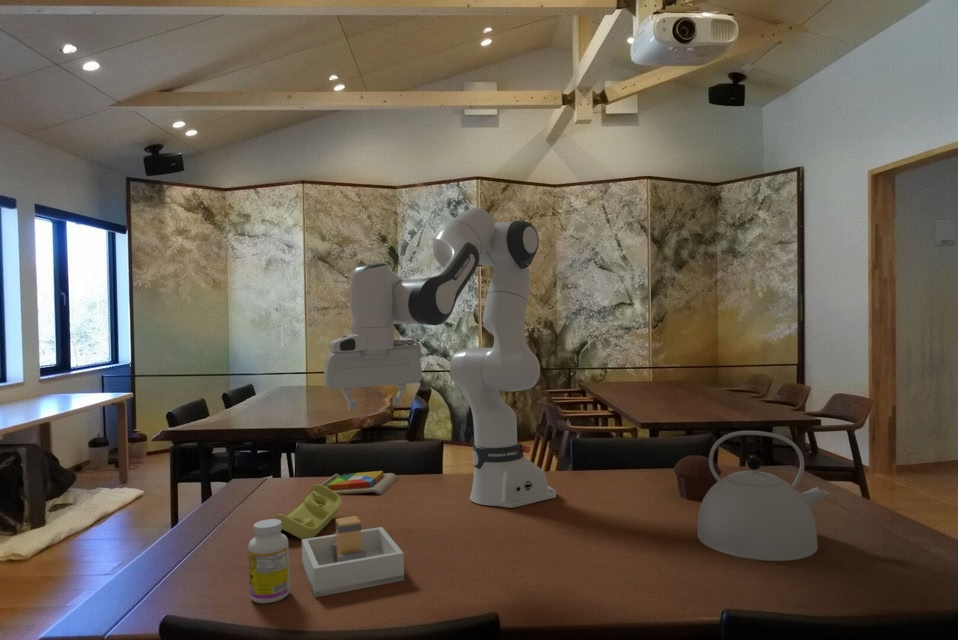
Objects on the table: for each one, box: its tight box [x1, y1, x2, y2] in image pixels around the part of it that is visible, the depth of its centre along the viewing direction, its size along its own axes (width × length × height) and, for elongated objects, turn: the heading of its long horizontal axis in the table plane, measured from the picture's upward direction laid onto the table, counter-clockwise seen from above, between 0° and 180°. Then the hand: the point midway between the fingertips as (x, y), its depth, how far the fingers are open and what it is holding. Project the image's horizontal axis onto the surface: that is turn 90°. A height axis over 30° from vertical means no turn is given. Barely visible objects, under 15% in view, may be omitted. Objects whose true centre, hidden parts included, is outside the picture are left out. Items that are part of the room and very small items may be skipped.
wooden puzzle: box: [321, 470, 398, 496], centre depth 184 cm, size 18×19×4 cm
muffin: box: [673, 454, 722, 502], centre depth 165 cm, size 12×11×10 cm
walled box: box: [301, 526, 405, 598], centre depth 123 cm, size 16×16×5 cm
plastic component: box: [274, 483, 343, 540], centre depth 151 cm, size 20×7×10 cm
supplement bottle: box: [247, 518, 291, 604], centre depth 113 cm, size 7×7×13 cm
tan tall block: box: [335, 515, 362, 562], centre depth 124 cm, size 4×4×8 cm
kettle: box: [697, 430, 830, 562], centre depth 133 cm, size 25×23×22 cm
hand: (374, 407), depth 135 cm, fingers open, 8 cm apart
